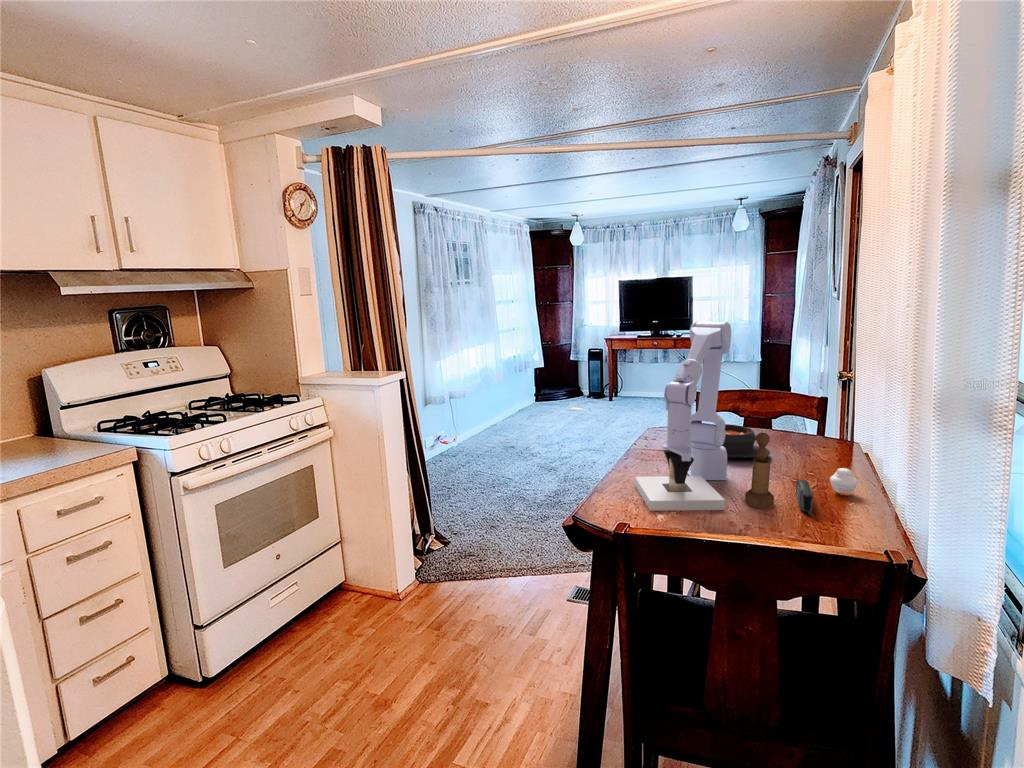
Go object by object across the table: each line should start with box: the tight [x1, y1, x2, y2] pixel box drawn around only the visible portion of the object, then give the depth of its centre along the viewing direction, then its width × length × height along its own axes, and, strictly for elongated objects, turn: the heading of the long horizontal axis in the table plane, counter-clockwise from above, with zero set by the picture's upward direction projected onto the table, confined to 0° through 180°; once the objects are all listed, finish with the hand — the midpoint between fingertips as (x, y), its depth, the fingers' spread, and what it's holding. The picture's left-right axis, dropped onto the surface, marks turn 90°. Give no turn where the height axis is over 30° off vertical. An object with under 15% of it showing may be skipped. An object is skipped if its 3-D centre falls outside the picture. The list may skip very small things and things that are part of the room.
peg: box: [668, 460, 685, 492], centre depth 143 cm, size 4×4×9 cm
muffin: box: [829, 467, 858, 494], centre depth 143 cm, size 6×6×7 cm
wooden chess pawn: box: [744, 432, 775, 509], centre depth 137 cm, size 7×6×18 cm
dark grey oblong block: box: [795, 479, 814, 517], centre depth 136 cm, size 5×3×15 cm
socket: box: [634, 475, 726, 512], centre depth 144 cm, size 18×18×2 cm
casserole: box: [722, 423, 771, 460], centre depth 180 cm, size 25×19×8 cm
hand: (677, 480), depth 143 cm, fingers closed on peg, 4 cm apart
